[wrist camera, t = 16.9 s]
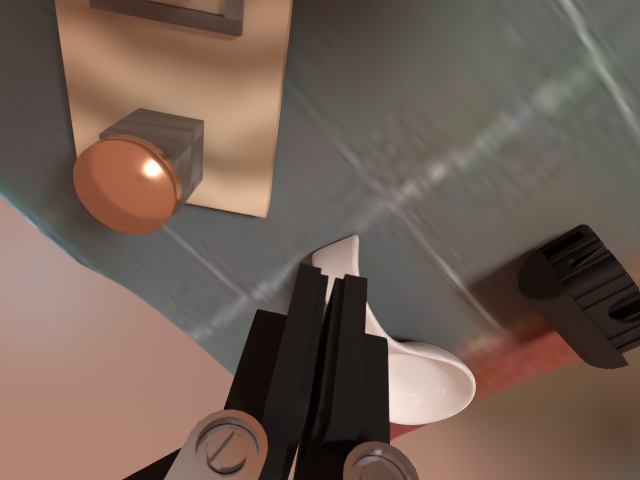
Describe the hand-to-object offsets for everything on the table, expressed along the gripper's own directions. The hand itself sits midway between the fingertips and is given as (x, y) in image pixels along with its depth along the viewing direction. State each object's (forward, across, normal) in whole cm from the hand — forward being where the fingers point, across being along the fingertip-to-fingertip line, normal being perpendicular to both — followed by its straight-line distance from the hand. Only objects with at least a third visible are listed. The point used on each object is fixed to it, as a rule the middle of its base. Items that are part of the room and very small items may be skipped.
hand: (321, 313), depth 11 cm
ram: (+22, +13, +8) cm, 27 cm away
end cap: (+26, -23, +13) cm, 37 cm away
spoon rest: (+25, -9, +24) cm, 36 cm away
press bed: (+25, +13, 0) cm, 29 cm away
